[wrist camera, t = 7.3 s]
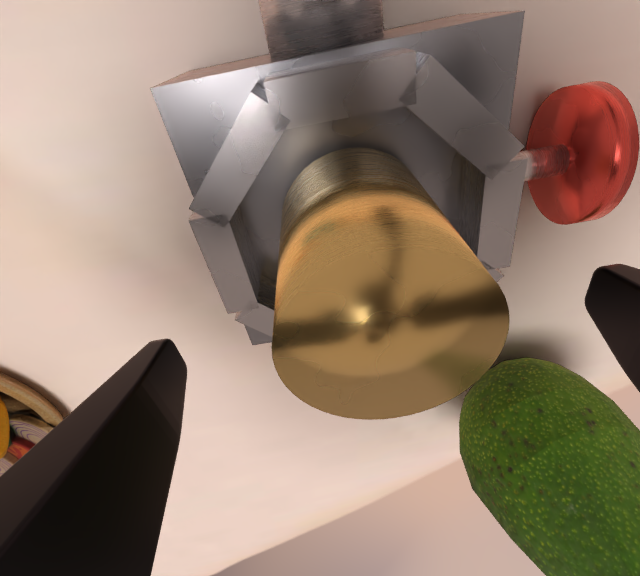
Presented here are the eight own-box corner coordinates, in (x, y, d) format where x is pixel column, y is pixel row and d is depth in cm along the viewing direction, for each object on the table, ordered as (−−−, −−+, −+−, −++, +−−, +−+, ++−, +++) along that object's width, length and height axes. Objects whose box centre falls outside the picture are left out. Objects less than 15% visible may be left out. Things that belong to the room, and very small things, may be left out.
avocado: (567, 307, 19) (839, 593, 10) (569, 392, 24) (756, 647, 14) (421, 354, 21) (529, 640, 11) (448, 425, 25) (542, 675, 16)
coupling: (423, 133, 10) (528, 224, 5) (424, 267, 12) (494, 402, 8) (265, 163, 10) (241, 274, 6) (297, 288, 13) (298, 431, 8)
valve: (598, -123, 10) (841, -239, 6) (520, 281, 18) (592, 365, 14) (158, -23, 11) (59, -55, 6) (272, 322, 19) (265, 414, 14)
